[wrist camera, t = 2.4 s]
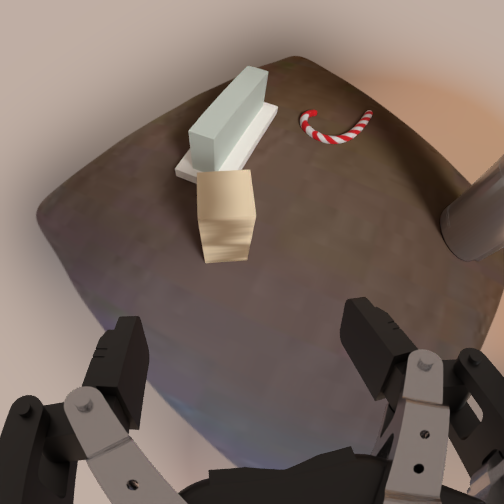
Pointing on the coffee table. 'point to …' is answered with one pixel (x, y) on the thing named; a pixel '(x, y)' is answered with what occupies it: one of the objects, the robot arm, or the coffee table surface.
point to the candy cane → (333, 139)
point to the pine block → (225, 214)
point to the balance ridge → (229, 127)
